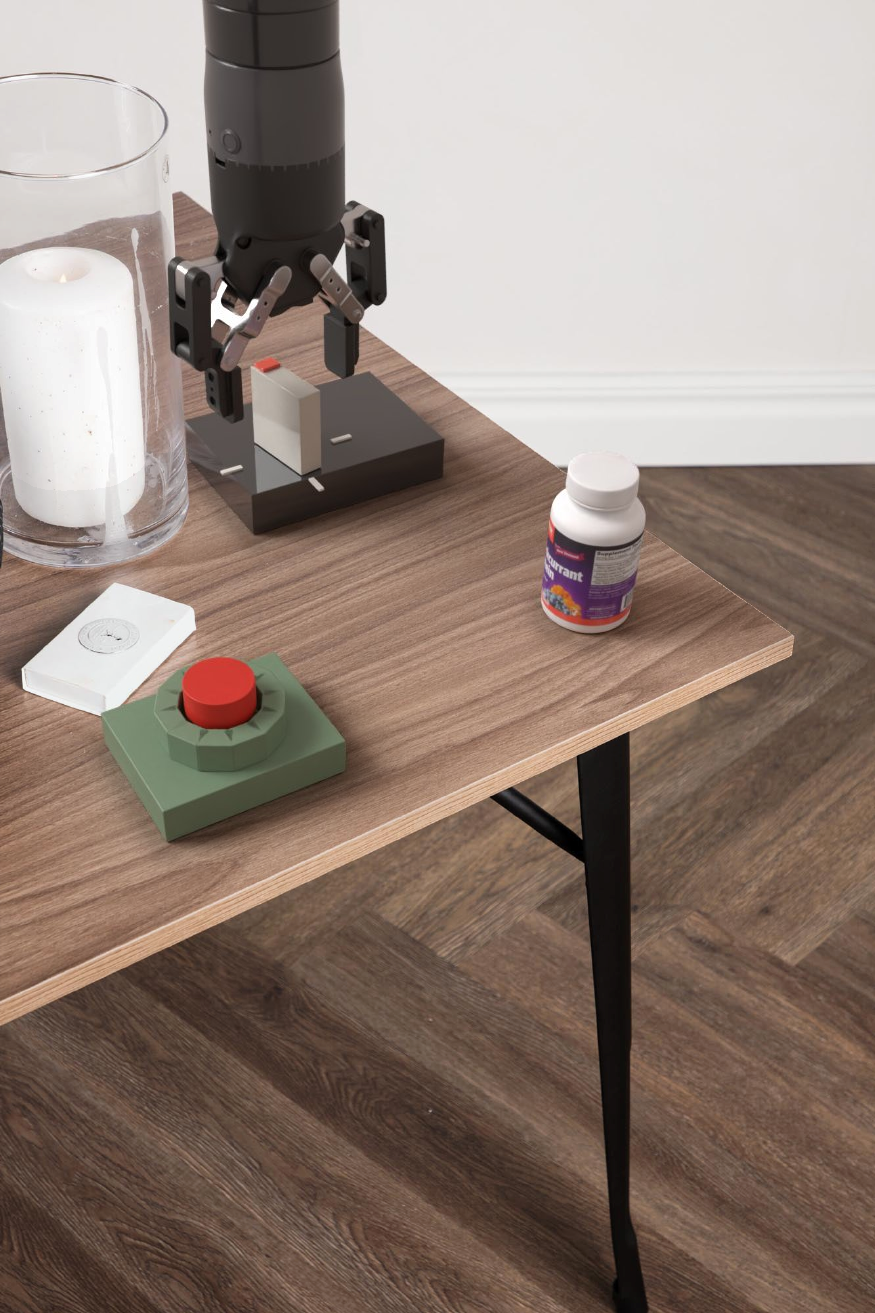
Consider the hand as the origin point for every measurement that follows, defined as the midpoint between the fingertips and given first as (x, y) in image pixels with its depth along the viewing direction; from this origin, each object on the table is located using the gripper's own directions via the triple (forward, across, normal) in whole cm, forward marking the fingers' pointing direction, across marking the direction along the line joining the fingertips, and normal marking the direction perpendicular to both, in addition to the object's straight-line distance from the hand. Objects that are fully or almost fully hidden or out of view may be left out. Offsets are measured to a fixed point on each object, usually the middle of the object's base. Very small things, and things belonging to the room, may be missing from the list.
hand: (285, 394), depth 88 cm
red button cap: (+4, +17, +17) cm, 25 cm away
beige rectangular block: (+4, 0, 0) cm, 4 cm away
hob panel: (+7, -3, -1) cm, 8 cm away
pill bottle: (+8, -6, +21) cm, 23 cm away
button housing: (+7, +17, +17) cm, 26 cm away
